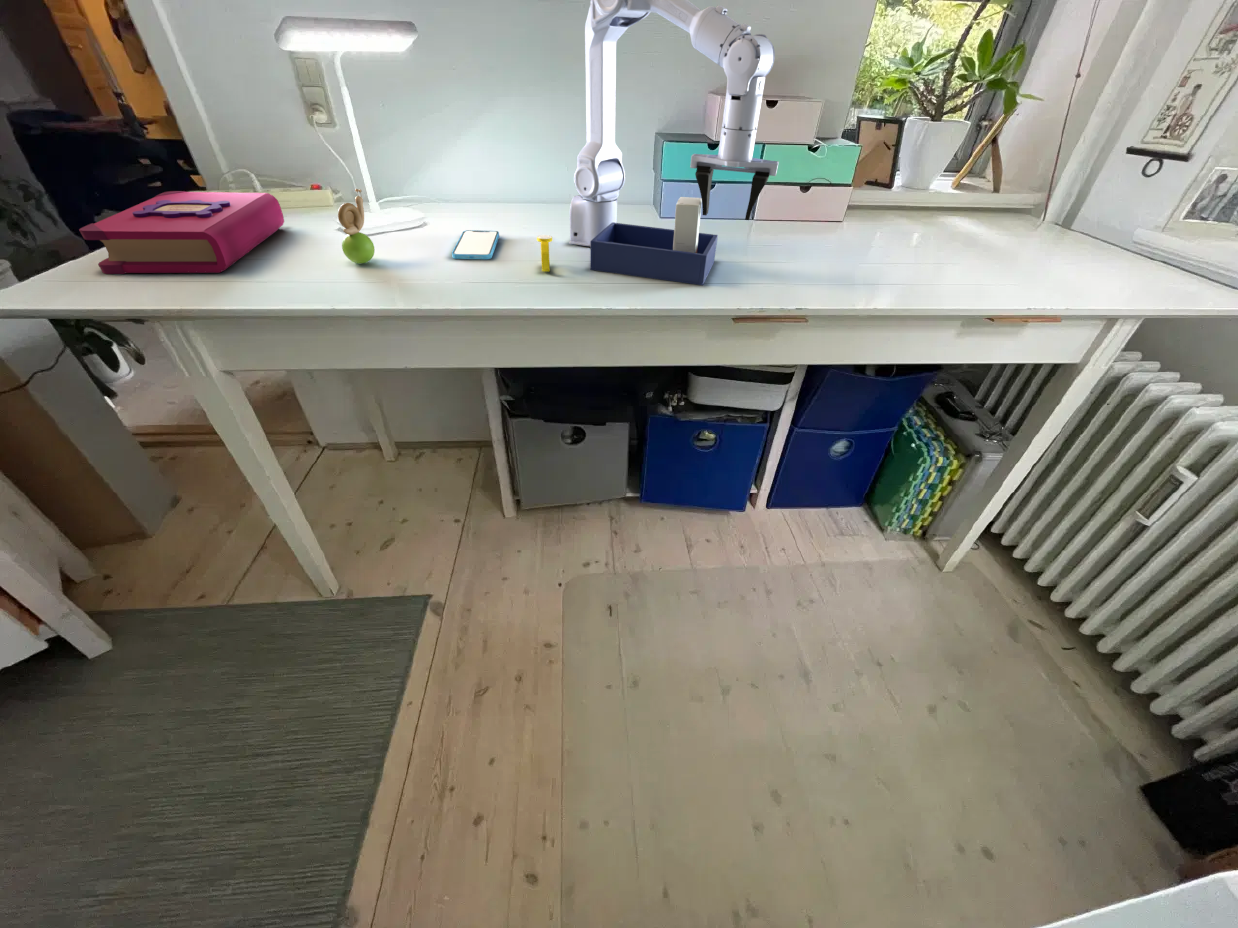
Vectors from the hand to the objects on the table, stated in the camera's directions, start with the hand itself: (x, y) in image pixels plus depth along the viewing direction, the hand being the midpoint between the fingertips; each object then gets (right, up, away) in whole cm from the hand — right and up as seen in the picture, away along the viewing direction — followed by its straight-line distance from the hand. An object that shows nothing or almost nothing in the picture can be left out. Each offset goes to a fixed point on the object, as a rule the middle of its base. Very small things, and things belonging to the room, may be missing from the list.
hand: (726, 216), depth 98 cm
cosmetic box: (-7, -7, +8) cm, 12 cm away
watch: (-33, -8, +5) cm, 34 cm away
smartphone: (-48, 0, +14) cm, 50 cm away
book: (-99, -3, +8) cm, 100 cm away
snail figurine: (-67, -7, +5) cm, 68 cm away
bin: (-12, -6, +9) cm, 16 cm away
